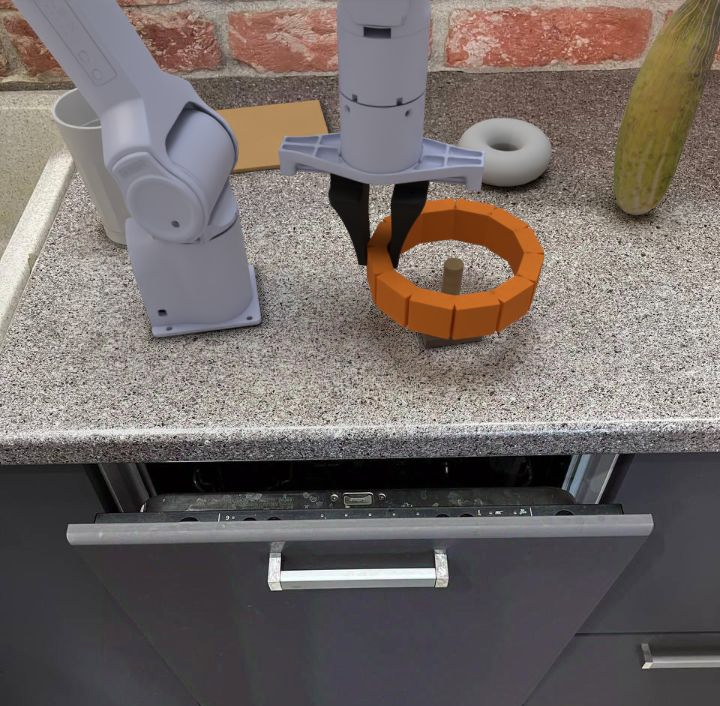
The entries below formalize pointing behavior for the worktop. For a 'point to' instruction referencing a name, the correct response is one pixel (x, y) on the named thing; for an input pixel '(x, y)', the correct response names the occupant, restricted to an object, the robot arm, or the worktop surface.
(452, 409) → the worktop surface
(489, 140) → the donut
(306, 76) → the worktop surface
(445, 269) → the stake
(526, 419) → the worktop surface
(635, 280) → the worktop surface
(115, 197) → the cup
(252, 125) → the mat
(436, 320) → the ring
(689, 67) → the vegetable
